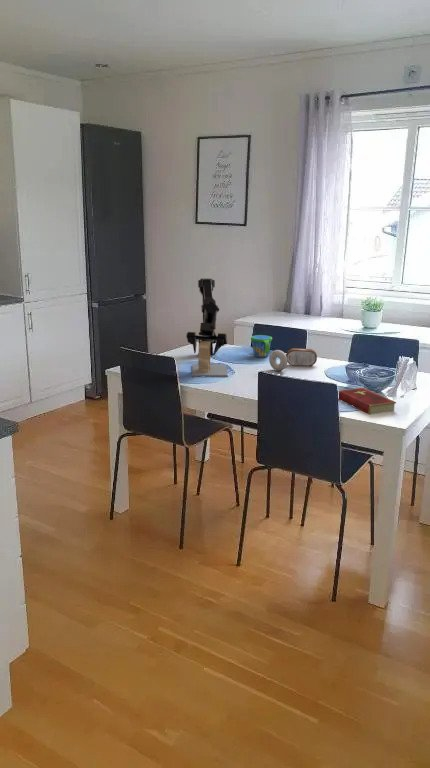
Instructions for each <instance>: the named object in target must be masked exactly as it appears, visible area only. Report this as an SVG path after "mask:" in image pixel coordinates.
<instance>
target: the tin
mask: <svg viewBox="0 0 430 768" xmlns="http://www.w3.org/2000/svg"><path fill="white" fill-rule="evenodd" d="M285 355H286V357H287V364H289V365H290V366H294V367H295V366H296V367H312V366H313V365H315V364H316V363H317V360H318V355H317V352H316V351H315V350H313V349H311V348H299V347H298V348H297V347H293V348H290V349H289V350H287V352H286V353H285Z"/></svg>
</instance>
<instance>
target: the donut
mask: <svg viewBox="0 0 430 768" xmlns="http://www.w3.org/2000/svg"><path fill="white" fill-rule="evenodd" d="M277 358H278V359H279V362H277ZM268 360H269V365H270V366H271V368H272V370H274V371H277V372H282V371H284V370H285V369H286V368H287V366H288V362H287V357H286V353H285V352H284V351H283V350H280V349H275V350H273V351H271V353H270V354H269V356H268Z"/></svg>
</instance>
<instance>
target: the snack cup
mask: <svg viewBox="0 0 430 768" xmlns="http://www.w3.org/2000/svg"><path fill="white" fill-rule="evenodd" d="M250 340H251V343H252V353H253V356H254V357H256V358H260V357H264V358H268V357H269V355H270V354H269V353H270V351H271V349H270V348H271V343H272V341H273V337H272V336H270V335H264V334H258V335H255V334H254V335H251V338H250Z"/></svg>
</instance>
